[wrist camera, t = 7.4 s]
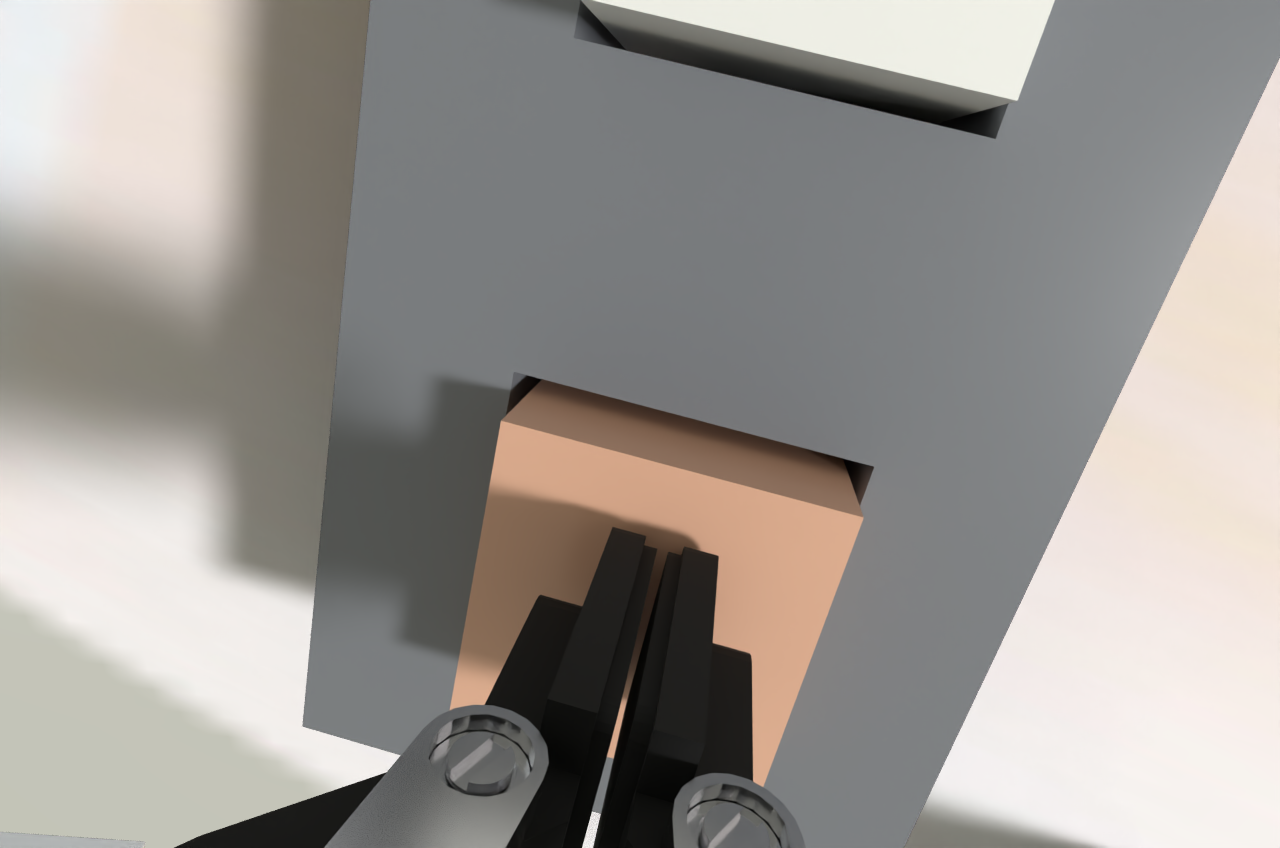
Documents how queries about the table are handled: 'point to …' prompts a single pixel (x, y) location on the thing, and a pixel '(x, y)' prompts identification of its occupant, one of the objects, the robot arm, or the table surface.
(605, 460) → the clay key
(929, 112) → the white square block
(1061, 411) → the key panel
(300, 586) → the table surface
